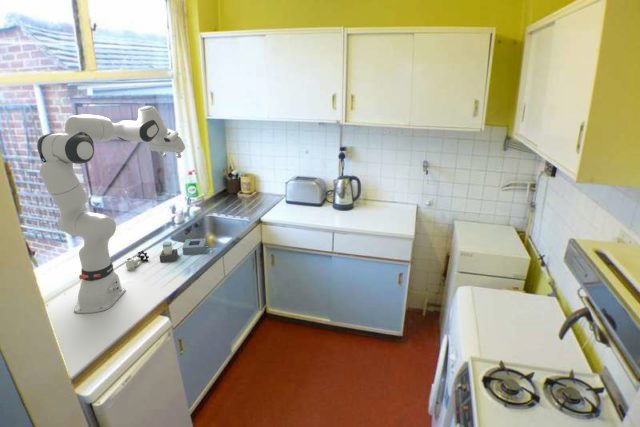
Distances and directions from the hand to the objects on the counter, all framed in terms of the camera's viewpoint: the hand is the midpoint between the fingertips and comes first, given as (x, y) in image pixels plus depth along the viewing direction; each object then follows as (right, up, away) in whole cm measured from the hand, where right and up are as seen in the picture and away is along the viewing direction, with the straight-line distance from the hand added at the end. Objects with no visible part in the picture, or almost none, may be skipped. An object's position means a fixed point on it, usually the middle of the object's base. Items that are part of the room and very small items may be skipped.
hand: (172, 157), depth 205 cm
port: (+9, -51, +10) cm, 53 cm away
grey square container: (-1, -55, 0) cm, 55 cm away
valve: (-15, -58, -7) cm, 60 cm away
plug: (-1, -54, -1) cm, 54 cm away
